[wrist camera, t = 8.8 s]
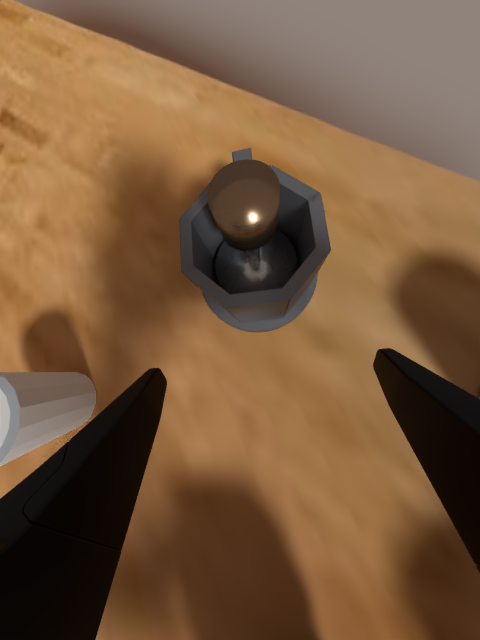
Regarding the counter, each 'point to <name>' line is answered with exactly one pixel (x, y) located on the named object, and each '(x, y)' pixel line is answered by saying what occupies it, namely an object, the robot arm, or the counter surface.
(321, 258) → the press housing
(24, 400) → the shot glass
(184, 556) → the counter surface
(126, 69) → the counter surface
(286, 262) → the plunger
